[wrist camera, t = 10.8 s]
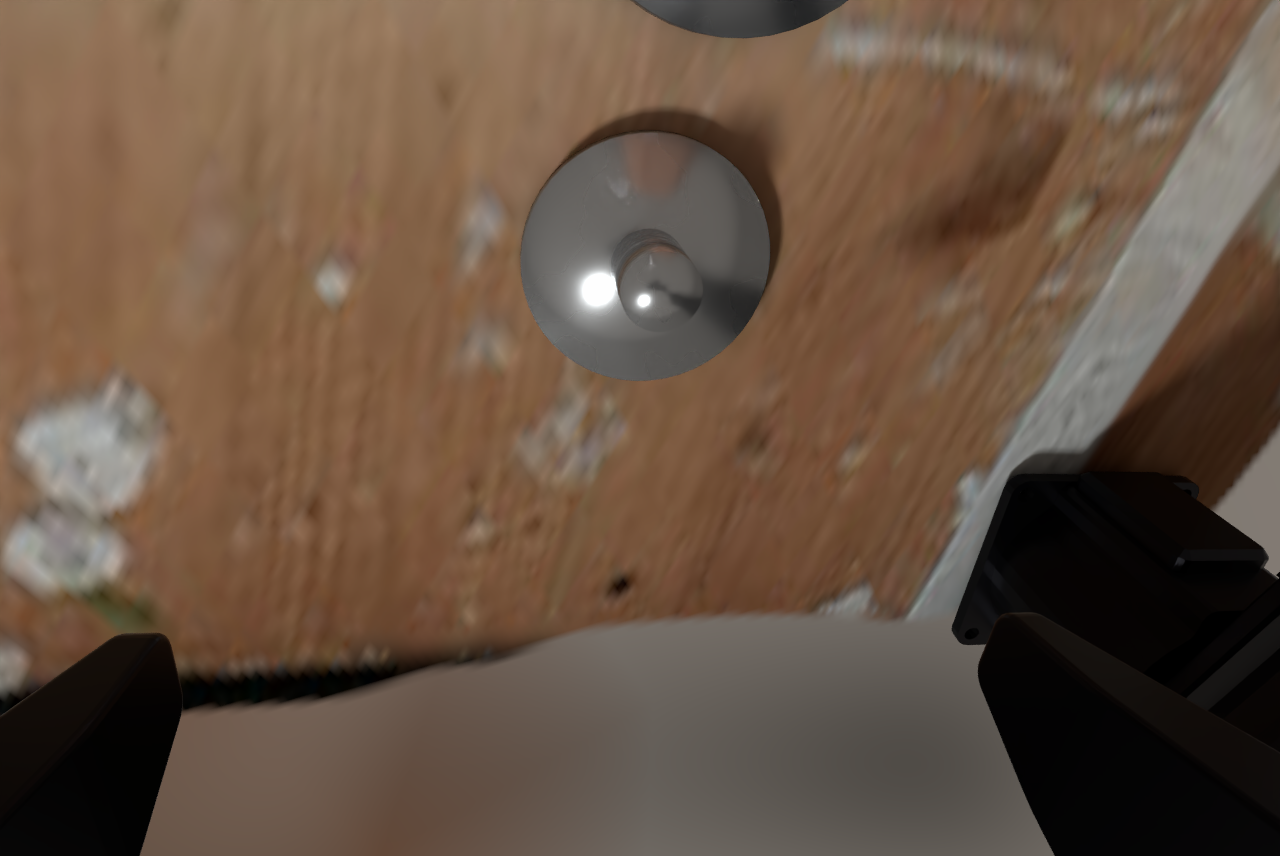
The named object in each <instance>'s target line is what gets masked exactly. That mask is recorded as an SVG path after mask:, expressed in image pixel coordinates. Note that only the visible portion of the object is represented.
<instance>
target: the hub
mask: <svg viewBox="0 0 1280 856" xmlns="http://www.w3.org/2000/svg"><path fill="white" fill-rule="evenodd" d="M631 1H632V2H634V3H635V4H636V5H638V6H639V7H641V8H642V9H643V10H645V11H646V12H648V13H650V14H651V15H653V16H655V17H657V18H659V19H661V20H663V21H665V22H667V23H668V24H671V25H674V26H677V27H679V28H682V29H685V30H688V31H691V32H695V33H700V34H705V35H711V36H716V37H728V38H753V37H762V36H770V35H774V34H778V33H782V32H786V31H789V30H793V29H796V28H798V27H801V26H803V25H806V24H808V23H810V22H813V21H815V20H817V19H819V18H821V17H823V16H824V15H826V14H828V13H829V12H831V11H833V10H835V9H836V8H838V7H840V6H841V5H842V4H844V3H845V2H846V1H848V0H631Z"/></svg>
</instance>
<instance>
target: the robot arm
mask: <svg viewBox="0 0 1280 856" xmlns="http://www.w3.org/2000/svg"><path fill="white" fill-rule="evenodd" d="M1024 489H1025V491H1024V492H1023V493H1021V494H1020V492H1021V491H1022V490H1024ZM1198 493H1199V488H1198V486H1197V485H1196V484H1195V483H1193V482H1192V481H1191V480H1189V479H1188V478H1186V477H1183V476H1163V475H1161V474H1159V473H1156V472H1087V473H1084V474H1081V475H1070V474H1021V475H1017V476H1015V477H1013V478H1012V479H1010V480H1009V481H1008V482H1007V484H1006V485H1005V487H1004V489H1003V492H1002V495H1001V497H1000V500H999V503H998V505H997V508H996V511H995V513H994V516H993V519H992V521H991V524H990V527H989V529H988V532H987V535H986V537H985V540H984V543H983V545H982V548H981V551H980V553H979V556H978V558H977V561H976V564H975V566H974V569H973V572H972V574H971V577H970V580H969V582H968V585H967V588H966V590H965V593H964V596H963V598H962V601H961V604H960V606H959V609H958V612H957V614H956V617H955V620H954V622H953V625H952V632H953V634H954V635H955V637H956V638H957V640H958V641H959V642H960V643H961V644H964V645H981V644H986V646H985V649H984V651H983V654H982V656H981V659H980V661H979V664H978V678H979V683H980V686H981V689H982V692H983V694H984V696H985V699H986V701H987V704H988V706H989V709H990V711H991V714H992V716H993V719H994V721H995V723H996V726H997V728H998V731H999V733H1000V736H1001V738H1002V741H1003V743H1004V745H1005V748H1006V750H1007V753H1008V755H1009V758H1010V760H1011V763H1012V765H1013V768H1014V770H1015V772H1016V775H1017V777H1018V780H1019V782H1020V785H1021V787H1022V790H1023V792H1024V794H1025V796H1026V799H1027V801H1028V803H1029V805H1030V808H1031V810H1032V812H1033V814H1034V816H1035V818H1036V820H1037V822H1038V824H1039V826H1040V828H1041V830H1042V832H1043V834H1044V836H1045V838H1046V840H1047V842H1048V844H1049V846H1050V848H1051V849H1052V851H1053V853H1054V855H1055V856H1280V572H1279V573H1278V574H1277V576H1278V577H1279V579H1278V578H1277V577H1276V576H1274V575H1273V574H1271V573H1270V572H1269V571H1267V570H1266V569H1265V568H1264V566H1265V564H1266V563H1267V561H1268V559H1269V557H1268V555H1267V553H1266V551H1265V550H1264V548H1263V547H1261V546H1260V545H1259V544H1257V543H1256V542H1255V541H1253V540H1252V539H1251V538H1249V537H1248V536H1246V535H1245V534H1244V533H1242V532H1241V531H1239V530H1238V529H1236V528H1235V527H1234V526H1232V525H1231V524H1229V523H1228V522H1227V521H1225V520H1224V519H1222V518H1221V517H1220V516H1218V515H1217V514H1216V513H1214V512H1213V511H1211V510H1210V509H1209V508H1207V507H1206V506H1204V505H1203V504H1202V503H1200V502H1199V501H1197V500H1196V498H1197V496H1198ZM182 704H183V696H182V689H181V685H180V681H179V677H178V673H177V668H176V664H175V660H174V656H173V652H172V647H171V644H170V642H169V640H168V638H167V637H166V636H165V635H163V634H161V633H126V634H120V635H117V636H115V637H113V638H111V639H109V640H108V641H106V642H105V643H104V644H102V645H101V646H99V647H98V648H97V649H95V650H94V651H92V652H91V653H89V654H88V655H87V656H85V657H84V658H82V659H81V660H80V661H78V662H77V663H75V664H74V665H72V666H71V667H70V668H68V669H67V670H65V671H64V672H62V673H61V674H60V675H58V676H57V677H55V678H54V679H53V680H51V681H50V682H48V683H47V684H45V685H44V686H43V687H41V688H40V689H38V690H37V691H36V692H34V693H33V694H31V695H30V696H28V697H27V698H26V699H24V700H23V701H21V702H20V703H18V704H17V705H16V706H14V707H13V708H11V709H10V710H9V711H7V712H6V713H4V714H3V715H1V716H0V856H140V853H141V850H142V847H143V843H144V840H145V837H146V833H147V830H148V826H149V823H150V820H151V816H152V813H153V809H154V806H155V802H156V799H157V796H158V792H159V789H160V785H161V782H162V778H163V775H164V772H165V768H166V765H167V762H168V758H169V755H170V752H171V748H172V745H173V741H174V738H175V735H176V731H177V728H178V725H179V721H180V717H181V712H182Z"/></svg>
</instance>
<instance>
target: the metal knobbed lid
mask: <svg viewBox="0 0 1280 856" xmlns="http://www.w3.org/2000/svg"><path fill="white" fill-rule="evenodd" d="M520 255H521V277H522V283H523V288H524V293H525V296H526V299H527V302H528V305H529V308H530V310H531V312H532V314H533V316H534V318H535V321H536V322H537V324H538V325H539V327H540V328H541V330H542V331H543V333H544V334H545V335H546V337H547V338H548V339H549V340H550V341H551V342H552V344H553V345H554V346H555V347H556V348H557V349H559V350H560V351H561V352H562V353H563V354H564V355H565V356H567V357H568V358H570V359H571V360H573V361H574V362H576V363H577V364H579V365H581V366H583V367H585V368H587V369H588V370H590V371H593V372H596V373H598V374H601V375H604V376H608V377H612V378H617V379H622V380H633V381H645V380H656V379H663V378H668V377H672V376H675V375H679V374H682V373H684V372H687V371H689V370H692V369H694V368H696V367H698V366H700V365H702V364H704V363H705V362H707V361H709V360H710V359H712V358H713V357H714V356H716V355H717V354H719V353H720V352H721V351H722V350H724V349H725V348H726V347H727V346H728V345H729V344H730V343H731V342H732V341H733V340H734V339H735V338H736V337H737V336H738V335H739V334H740V332H741V331H742V330H743V329H744V327H745V326H746V324H747V323H748V321H749V320H750V319H751V317H752V315H753V313H754V311H755V309H756V308H757V306H758V304H759V301H760V299H761V296H762V294H763V291H764V288H765V284H766V280H767V276H768V270H769V262H770V239H769V232H768V226H767V222H766V219H765V215H764V212H763V209H762V207H761V204H760V202H759V200H758V197H757V195H756V194H755V192H754V190H753V189H752V187H751V185H750V184H749V182H748V181H747V180H746V178H745V177H744V176H743V175H742V174H741V172H740V171H739V170H738V169H737V168H736V167H735V166H734V165H733V164H732V163H730V162H729V161H728V160H727V159H726V158H725V157H723V156H722V155H720V154H719V153H718V152H716V151H715V150H713V149H712V148H710V147H709V146H707V145H705V144H703V143H701V142H699V141H697V140H694V139H692V138H689V137H686V136H683V135H680V134H677V133H671V132H665V131H652V130H640V131H632V132H624V133H621V134H617V135H613V136H609V137H606V138H604V139H602V140H599V141H597V142H594V143H592V144H590V145H589V146H587V147H585V148H583V149H582V150H580V151H578V152H577V153H575V154H574V155H573V156H572V157H570V158H569V159H568V160H567V161H565V162H564V163H563V164H562V165H561V166H560V167H559V168H558V169H557V170H556V171H555V172H554V173H553V174H552V175H551V176H550V178H549V179H548V180H547V182H546V183H545V184H544V186H543V187H542V188H541V190H540V192H539V193H538V195H537V197H536V199H535V201H534V203H533V204H532V207H531V209H530V212H529V214H528V217H527V220H526V223H525V227H524V231H523V236H522V243H521V253H520Z"/></svg>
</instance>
